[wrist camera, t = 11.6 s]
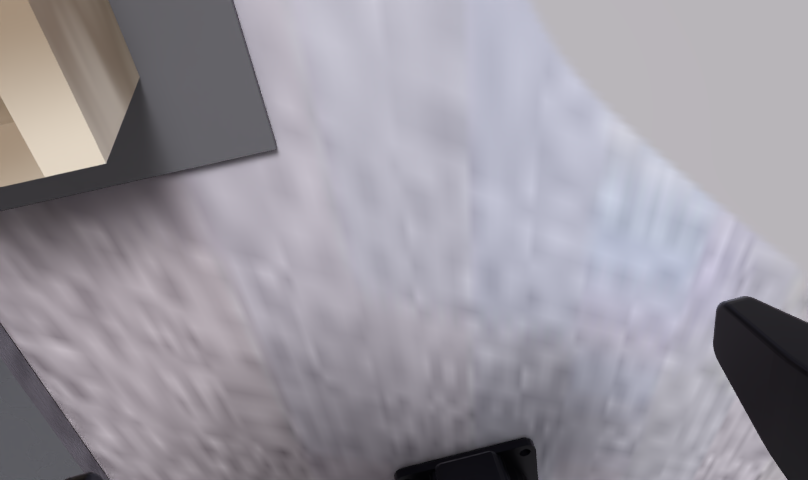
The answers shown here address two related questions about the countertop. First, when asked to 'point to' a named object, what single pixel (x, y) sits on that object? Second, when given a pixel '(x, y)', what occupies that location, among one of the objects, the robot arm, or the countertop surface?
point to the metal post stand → (35, 426)
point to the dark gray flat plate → (173, 100)
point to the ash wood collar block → (60, 86)
